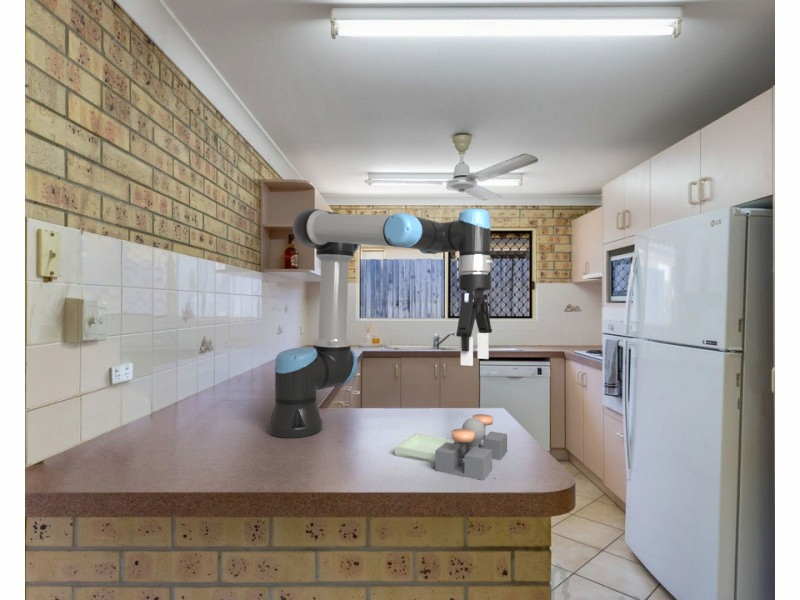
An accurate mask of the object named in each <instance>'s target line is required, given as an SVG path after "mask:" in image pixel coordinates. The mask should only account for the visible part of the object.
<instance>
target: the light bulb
mask: <svg viewBox="0 0 800 600" xmlns="http://www.w3.org/2000/svg"><path fill="white" fill-rule="evenodd" d="M461 429H470V430H473V431H474V432H475V440H474V441H472V442H467V444H468V447H469V450H468V451H470V450H471V449H472V448H473V447H479V444H480V442H483V440H482V439H483V437H484V435H485V436H486V426H485V427H484V424H483V423H482V422H481V421H480V420H479V419H476V418H473V417H471V418H468V419H466V420H465V421H463V424H462V426H461Z"/></svg>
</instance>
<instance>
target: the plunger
mask: <svg viewBox="0 0 800 600" xmlns="http://www.w3.org/2000/svg"><path fill="white" fill-rule="evenodd" d="M451 440H454V441H456V442H457V441H458V442H460V457H461V458H463V459H465V455H466V442H472V441H474V440H475V432H474V431H473V430H470V429H462V428H456V429H452V431H451Z"/></svg>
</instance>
